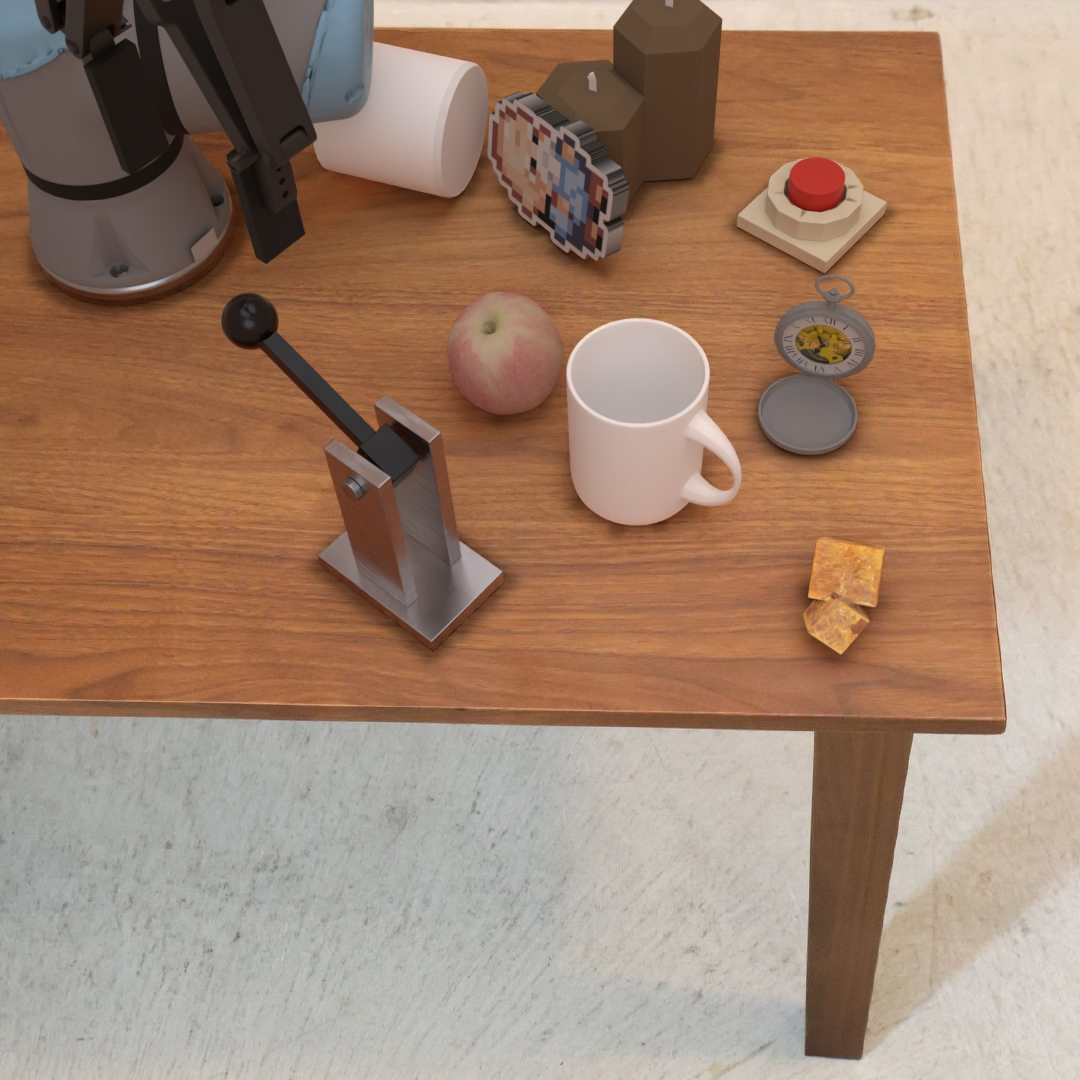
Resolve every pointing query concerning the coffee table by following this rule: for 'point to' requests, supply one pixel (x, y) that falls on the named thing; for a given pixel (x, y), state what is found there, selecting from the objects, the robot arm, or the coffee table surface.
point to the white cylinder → (412, 124)
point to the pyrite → (842, 589)
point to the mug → (642, 423)
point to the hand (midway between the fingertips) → (211, 201)
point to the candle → (648, 90)
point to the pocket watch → (816, 374)
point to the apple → (505, 353)
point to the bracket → (405, 535)
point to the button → (816, 184)
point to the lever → (314, 384)
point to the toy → (558, 175)
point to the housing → (811, 220)
